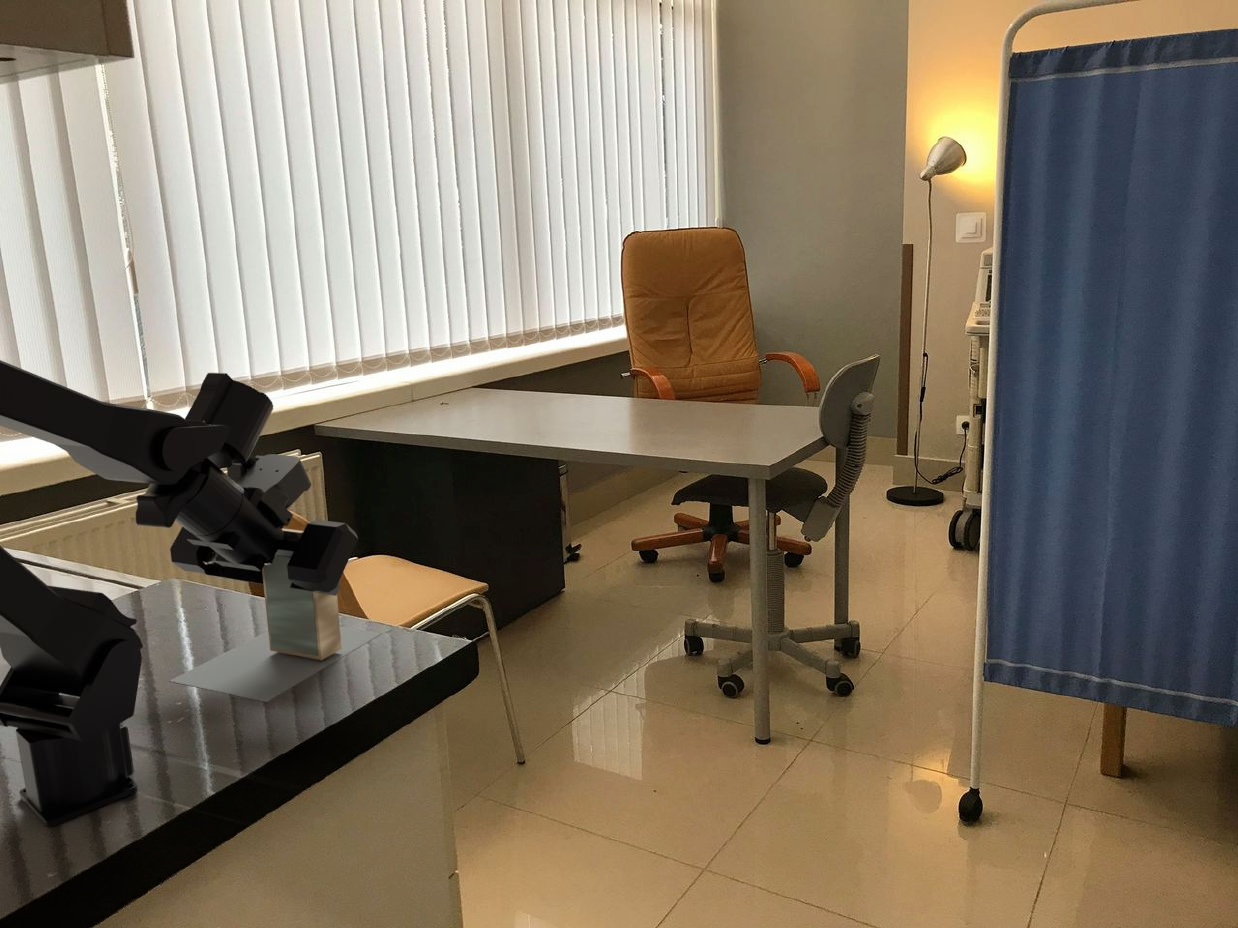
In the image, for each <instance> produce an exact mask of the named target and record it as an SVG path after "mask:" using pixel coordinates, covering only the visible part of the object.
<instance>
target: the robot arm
mask: <svg viewBox="0 0 1238 928" xmlns="http://www.w3.org/2000/svg"><path fill="white" fill-rule="evenodd" d="M273 411H274V404H273V401H272V400H271V399H270V397H269V396H268V395H267V394H266V393H265V392H261V391H259V390H257V389H256V388H254V387H252V386H250V385H249V384H245V383H244V382H241V381H238V380H235V379H233V378H232V377H231V376H230V375H229V374H228V373H227V372H207V373H206V375H205V377H204V379H203V381H202V384H201V385H200V389H199V392H198V394H197V396H196V397H195V400H194V401H193V402H192V405H191V407H190V409H189V410H188V412H187V414H186V416H185V417H183V416H181V414H177V413H172V412H166V411H161V410H157V409H150V408H145V407H138V406H132V405H131V406H130V405H123V404H116V403H110V402H105V401H101V400H99V399H96V398H93V397H91V396H90V395H86V394H84V393H82V392H79V391H77V390H74V389H72V388H69V387H66V386H65V385H62V384H60V383H57V382H55V381H52V380H50V379H47V378H45V377H43V376H40V375H38V374H36V373H33V372H31V371H28V370H25V369H23V368H21V367H18V366H16V365H13V364H10V363H9V362H6V361H3V360H1V359H0V427H3V428H5V429H9V430H11V431H13V432H14V431H15V432H17V433H21V434H22V435H26V436H29V437H31V438H32V437H33V438H35V439H38V440H41V441H44V442H47V443H49V444H52V445H54V446H57V447H59V448H60V449H61V450H63V451H65V452H66V453H67V454H68V455H69V456H70V458H71V459H72V460H73V461H74V462H75V463H77V464H78V465H79V466H82V467H83V468H85V469H86V470H89V472H92V473H94V474H95V475H98V476H99V477H101V478H103V479H105V480H110V481H120V482H122V481H123V482H130V483H131V482H132V483H142V484H149V486H148V487H147V490H146V491H145V492H144V493H143V494H138V495H137V496H136V498H135V500H136V503H137V506H136V510H135V524H136V525H137V526H140V527H141V526H142V527H151V528H152V527H153V528H165V529H169V528H171V527H173V526H174V523H175V522H176V523H178V524H179V525H180V526H181V529H180V531H179V532H178V534H177V536H176V537H175V539H174V541H173V543H172V544H171V546H170V549H169V551H170V552H169V553H170V559H171V563H173V564H174V565H176V566H177V567H178V568H180V569H181V570H183V571H185V572H191V573H198V574H203V575H204V574H205V575H206V576H208V577H216V578H222V579H226V580H227V579H229V580H233V581H234V580H235V581H241V582H247V583H252V584H253V583H254V584H258V585H264V584H263V575H262V569H263V567H264V565H271V564H272V562H273V560H274V558H275V556H281V557H288V558H290V560H289V562H288V565H287V570H288V579H289V580H290V581H291V582H292V584H291V586H290V588H293V589H299V590H305V591H311V592H317V593H323V594H329V595H335V596H336V595H337V596H338V593H339V591H340V589H341V583H340V580H341V578H342V576H343V574H344V571H345V568H346V567H347V566H348V562H349V560H350V557H351V555H352V553H353V551H354V549H355V547H356V545H357V543H358V540H359V537H358V535H357V533H356V532H355V531H354V529H352V527H350V525H348V524H347V523H346V522H339V521H329V520H323V519H322V520H320V519H315V520H313V521H310V522H308V523H306V526H305V527H304V530H302V531H303V532H302V533H298V532H290V531H283V530H282V528H283V529H284V527H288V526H289V524H290V522H291V520H292V519H293V516H294V514H293V513H292V512H291V511H289V508H290V507H291V506H293V504H294V503H296V501H297V500H298V499H299V498H300V497H301V496H302V495H303V494H304V492H308V491H309V490H310V488H311V487H312V482H311V480H310V478H309V475H308V474H307V471H306V470H305V467H304V465H303V463H302V461H301V458H300V457H299V456H296V455H287V454H286V455H283V454H274V453H273V454H272V453H271V454H266V455H256V456H255V457H254V458H253V457H252V456H251V455H252V453H253V451H254V448H255V447H256V446H257V445H256V444H257V442H258V440H259V438H260V436H261V435H262V433H263V430H264V429H265V427H266V424H267V422H268V420H269V418H270V417H271V414H272V412H273ZM221 468H222V469H221ZM223 468H224V469H226V472H224V471H223ZM136 624H137V618H132V617H129V616H127V615H125V614H123V613H122V612H121V611H120V610H119V609H118V607H117V606H116V604H115V603H114V602H113V600H111V598H109V596H107V595H106V594H104V593H103V592H101V591H100V592H99V591H93V590H83V589H77V588H70V587H63V586H55V585H48V584H47V583H45V582H44V581H43V580H42V579H40V577H38V576H37V575H36V574H34V572H32V571H31V570H30V569H28V567H26V566H25V565H24V564H23V563H21V562H20V561H19V560H18V559H17V558H16V557H14V556H13V555H12V554H11V553H9V551H7V549H5V548H4V547H3V546H1V545H0V651H1V655H2V658H3V659H4V661H6V663H7V664H8V665H9V666H10V668H9V670H8V671H7V673H6V675H5V677H4V678H3V680H2V682H1V683H0V727H4V728H5V727H6V728H8V727H11V728H16V729H15V734H16V740H17V747H18V753H19V758H20V762H21V763H20V764H21V768H22V769H21V770H22V775H23V780H24V781H23V782H24V786H25V787H24V788H22V789H20V791H19V797H20V799H21V800H22V802H24V803H25V805H26V806H27V807H28V808H29V809H30V810H31V811H32V813H34V814H35V816H37V817H38V818H39V819H40V821H42V823H43V824H45V825H46V826H49V827H51V826H55V825H58V824H61V823H63V822H65V821H68V820H70V819H72V818H75V817H78V816H81V815H83V814H85V813H88V812H90V811H92V810H95V809H99V808H100V807H103V806H106V805H107V804H110V803H112V802H115V801H117V800H118V801H119V799H123V798H125V797H128V796H130V795H132V794H134V793H136V792H138V789H139V788H138V784H137V782H135V781H134V780H133V779H132V778H131V777H130V776H132V775H133V774H134V772H135V769H134V762H133V755H132V749H131V740H130V734H129V728H128V726H126V725H125V724H124V722H125V721H127V720H128V719H130V718H132V717H134V715H135V708H136V701H137V694H138V690H139V683H140V682H139V681H140V675H141V668H142V658H143V657H142V649H143V647H144V644H143V640H142V638H141V636H140V635H139V634H138V632H137V631H136V630H135V629H134V628H133V626H135V625H136Z"/></svg>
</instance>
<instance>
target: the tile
mask: <svg viewBox="0 0 1238 928" xmlns="http://www.w3.org/2000/svg"><path fill="white" fill-rule="evenodd" d="M282 530H283V531H290V532H298V533H302V532H303V531H304V530H299V529H291V528H284V527H283V528H282ZM289 560H290V558H288V557H281V556H275V558H274V560H273V562H272V564H271V565H264V567H263V569H262V575H263V584H262V585H263V591H264V593H263V594H264V602H265V603H264V604H265V612H266V622H267V623H266V624H267V631H268V633H269V643H270V651H275V652H280V653H286V654H291V655H297V656H302V657H307V658H313V659H318V660H323V659H325V658H326V657H328V656H330V655H332V654H333V653H335V652H337V651H339V650H340V649H342V647H341V636H340V626H341V625H340V613H339V612H340V611H339V603H338V594H337V595H336V596H335V595H329V594H323V593H317V592H311V591H305V590H299V589H293V588H290V586H291V584H292V582H291V581H290V580H289V579H288V570H287V565H288V562H289Z"/></svg>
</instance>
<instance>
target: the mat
mask: <svg viewBox="0 0 1238 928" xmlns="http://www.w3.org/2000/svg"><path fill="white" fill-rule="evenodd" d="M382 634H383V633H382V632H376V631H372V630H371V631H370V630H365V629H360V628H353V627H346V626H341V625H340V636H341V647H342V649H340V650H339V651H337V652H335V653H333V654H332V655H330V656H328V657H326V658H325V659H323V660H318V659H313V658H307V657H302V656H297V655H291V654H286V653H280V652H275V651H270V643H269V633H268V630H267V631H265V632H263V633H261V634H259V635H257V636H254V637H253V638H251V639H249V640H247V641H245V642H243V643H242V644H239V645H237V646H235V647H233V648H231V649H230V650H228V651H225V652H224V653H221V654H220V655H218V656H215V657H213V658H212V659H209V660H208V661H206V662H204V663H202V664H200V665H197V666H195V667H194V668H192V669H190V670H188V671H186V672H184V673H182V674H179V675H178V676H176V677H174V678H172V679H169V682H171V683H175V684H179V685H185V686H190V687H195V688H198V689H203V690H206V691H207V690H209V691H212V692H213V691H214V692H217V693H221V694H227V695H232V696H236V697H241V698H245V699H250V700H253V701H254V700H255V701H260V702H265V703H268V702H269V701H271V700H273V699H274V698H276V697H278V696H280V695H281V694H283V693H284V692H287V691H288V690H290V689H291V688H293V687H295V686H298V684H300V683H301V682H303V681H305V680H307V679H309V678H310V677H312V676H314V675H315V674H317V673H318V672H320V671H322V670H323V669H325V668H327V667H328V666H330V665H332V664H334V663H335V662H337V661H339V660H341V659H342V658H344V657H345V656H347V655H349V654H350V653H352V652H354V651H355V650H356V649H359V648H360V647H362V646H364V645H366V644H367V643H369V642H370V641H372V640H374V639H376V638H377V637H379V636H380V635H382Z"/></svg>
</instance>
